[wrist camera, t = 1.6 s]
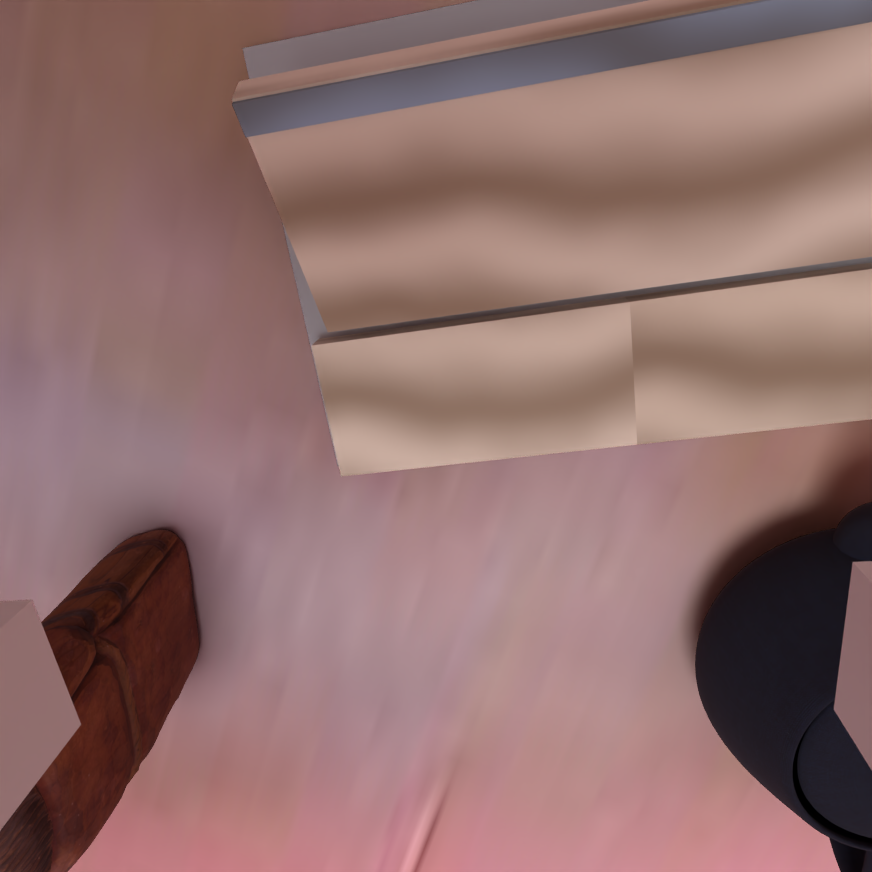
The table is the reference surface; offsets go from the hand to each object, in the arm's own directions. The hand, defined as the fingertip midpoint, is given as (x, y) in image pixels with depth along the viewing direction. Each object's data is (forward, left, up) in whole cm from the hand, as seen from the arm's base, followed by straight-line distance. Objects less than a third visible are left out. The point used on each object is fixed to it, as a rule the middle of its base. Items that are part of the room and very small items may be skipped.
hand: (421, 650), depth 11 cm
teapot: (+18, +17, -24) cm, 35 cm away
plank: (-7, +7, -20) cm, 23 cm away
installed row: (+3, +7, -24) cm, 25 cm away
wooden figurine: (+14, -22, -24) cm, 35 cm away
